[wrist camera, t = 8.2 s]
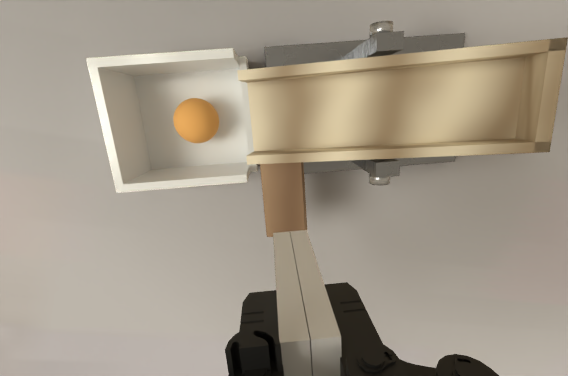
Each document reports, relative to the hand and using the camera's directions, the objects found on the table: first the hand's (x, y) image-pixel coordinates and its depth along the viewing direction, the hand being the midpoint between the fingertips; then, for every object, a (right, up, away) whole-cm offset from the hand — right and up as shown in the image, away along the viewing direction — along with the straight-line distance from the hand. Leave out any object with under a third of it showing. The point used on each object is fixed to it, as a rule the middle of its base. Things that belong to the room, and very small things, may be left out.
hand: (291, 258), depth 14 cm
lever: (+6, +6, +8) cm, 12 cm away
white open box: (-8, +9, +13) cm, 18 cm away
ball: (-7, +9, +12) cm, 17 cm away
